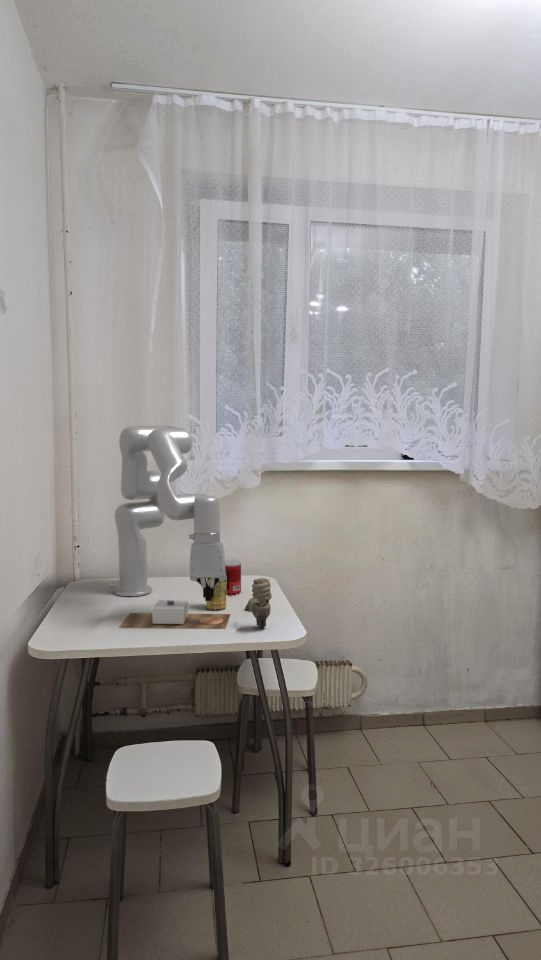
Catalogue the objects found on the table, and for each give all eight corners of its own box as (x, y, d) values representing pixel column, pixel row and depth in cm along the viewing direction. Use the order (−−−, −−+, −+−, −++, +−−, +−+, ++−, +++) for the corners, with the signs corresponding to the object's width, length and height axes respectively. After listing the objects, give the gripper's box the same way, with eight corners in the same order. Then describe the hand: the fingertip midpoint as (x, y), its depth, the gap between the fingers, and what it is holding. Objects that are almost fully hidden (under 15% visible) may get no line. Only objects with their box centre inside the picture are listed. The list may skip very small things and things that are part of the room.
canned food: (242, 590, 231) (242, 559, 230) (239, 596, 223) (239, 564, 222) (221, 589, 232) (220, 559, 231) (217, 595, 224) (216, 564, 223)
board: (117, 631, 187) (117, 627, 187) (130, 616, 201) (130, 612, 201) (225, 633, 186) (225, 628, 186) (230, 617, 200) (230, 613, 199)
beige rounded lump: (261, 614, 203) (261, 583, 202) (243, 609, 208) (243, 579, 207) (273, 611, 207) (273, 580, 206) (255, 606, 212) (255, 576, 211)
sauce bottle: (209, 615, 202) (209, 552, 200) (203, 610, 207) (202, 548, 205) (229, 613, 204) (229, 550, 202) (223, 607, 210) (222, 547, 208)
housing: (152, 623, 189) (152, 605, 188) (159, 614, 198) (158, 597, 197) (183, 623, 189) (183, 606, 188) (188, 614, 197) (188, 597, 197)
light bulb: (273, 631, 187) (273, 579, 186) (254, 632, 186) (254, 581, 184) (267, 624, 193) (267, 575, 191) (249, 626, 191) (249, 576, 190)
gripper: (179, 540, 187) (181, 603, 188) (231, 540, 186) (232, 603, 188) (183, 536, 194) (185, 596, 196) (233, 535, 194) (235, 596, 195)
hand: (208, 599), depth 192 cm, fingers closed
